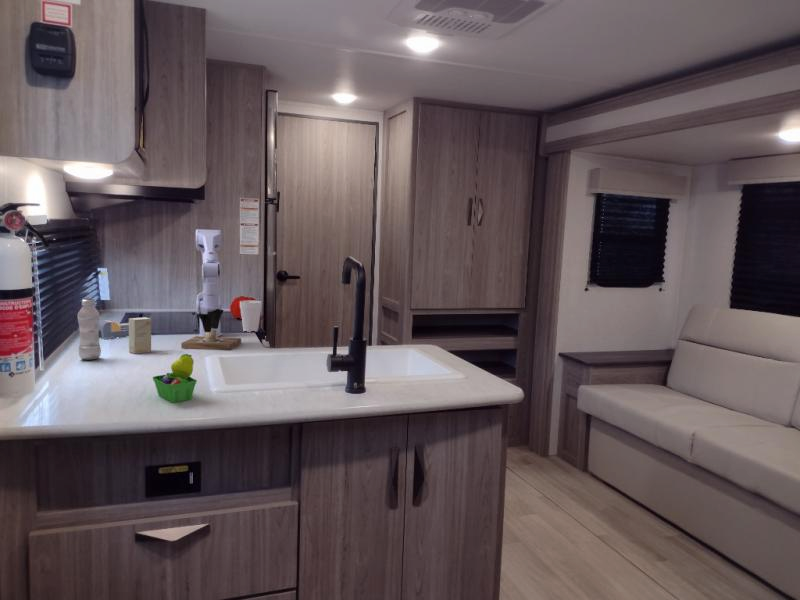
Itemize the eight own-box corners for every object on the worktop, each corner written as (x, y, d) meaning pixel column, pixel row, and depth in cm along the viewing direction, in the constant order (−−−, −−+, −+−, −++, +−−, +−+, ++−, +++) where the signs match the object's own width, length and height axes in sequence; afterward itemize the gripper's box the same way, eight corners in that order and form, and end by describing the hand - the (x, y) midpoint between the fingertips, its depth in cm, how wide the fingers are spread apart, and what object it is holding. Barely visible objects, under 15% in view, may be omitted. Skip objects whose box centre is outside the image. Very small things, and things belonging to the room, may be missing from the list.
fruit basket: (151, 395, 150) (150, 353, 149) (184, 389, 156) (183, 349, 155) (169, 405, 142) (168, 361, 141) (202, 399, 148) (202, 356, 147)
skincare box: (134, 354, 197) (134, 319, 196) (128, 352, 200) (127, 318, 198) (152, 351, 202) (151, 318, 201) (145, 349, 205) (145, 316, 203)
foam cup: (239, 329, 254) (239, 300, 253) (260, 328, 257) (260, 300, 255) (240, 332, 245) (240, 303, 244) (261, 332, 248) (262, 303, 246)
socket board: (196, 341, 223) (196, 335, 223) (241, 343, 223) (241, 337, 223) (181, 348, 210) (181, 342, 209) (229, 350, 209) (229, 344, 209)
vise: (105, 340, 219) (105, 323, 218) (94, 336, 226) (93, 320, 225) (150, 335, 233) (150, 319, 232) (138, 332, 240) (138, 316, 239)
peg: (207, 344, 217) (207, 329, 217) (218, 345, 217) (218, 330, 216) (203, 346, 213) (203, 331, 213) (213, 347, 213) (213, 331, 212)
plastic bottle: (91, 362, 183) (90, 301, 181) (73, 360, 185) (71, 299, 182) (105, 358, 190) (104, 299, 187) (88, 356, 191) (86, 297, 189)
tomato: (262, 320, 281) (262, 297, 280) (233, 321, 274) (233, 297, 272) (254, 316, 292) (255, 294, 291) (227, 317, 285) (227, 294, 284)
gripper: (207, 292, 220) (207, 326, 222) (193, 296, 206) (193, 333, 208) (225, 292, 220) (225, 327, 222) (212, 297, 206) (212, 333, 207)
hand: (211, 330), depth 215 cm, fingers open, 7 cm apart
